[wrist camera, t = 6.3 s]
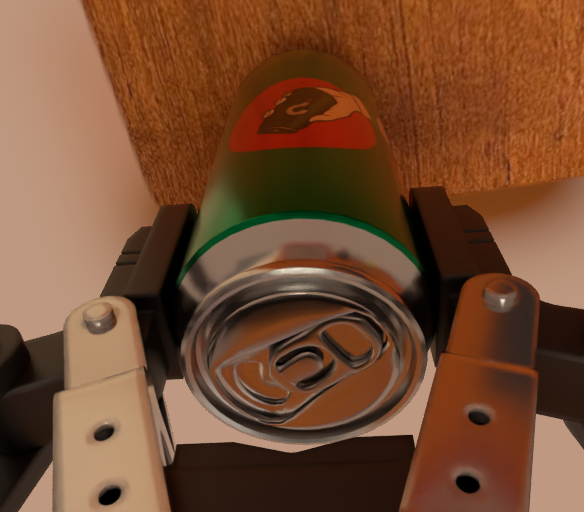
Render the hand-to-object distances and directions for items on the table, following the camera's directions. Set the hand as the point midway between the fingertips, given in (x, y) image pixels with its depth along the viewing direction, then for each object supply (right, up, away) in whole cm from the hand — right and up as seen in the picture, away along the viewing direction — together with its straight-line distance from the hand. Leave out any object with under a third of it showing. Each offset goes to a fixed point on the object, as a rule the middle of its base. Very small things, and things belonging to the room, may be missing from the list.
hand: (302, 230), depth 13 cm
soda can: (0, +4, +6) cm, 8 cm away
